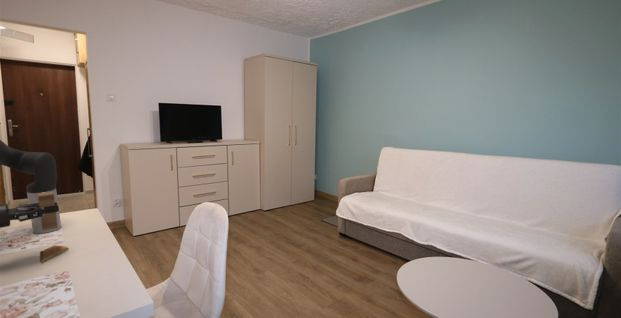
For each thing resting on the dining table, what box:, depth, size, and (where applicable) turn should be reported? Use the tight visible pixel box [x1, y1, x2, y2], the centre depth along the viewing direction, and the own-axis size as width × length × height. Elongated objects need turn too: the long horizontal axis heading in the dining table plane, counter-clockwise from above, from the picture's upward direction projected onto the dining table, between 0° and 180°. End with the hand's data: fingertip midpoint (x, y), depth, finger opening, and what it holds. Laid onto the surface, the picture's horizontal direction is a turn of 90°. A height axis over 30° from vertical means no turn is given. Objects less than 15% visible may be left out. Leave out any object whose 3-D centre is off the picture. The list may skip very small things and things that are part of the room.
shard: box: [39, 245, 69, 264], centre depth 109 cm, size 11×8×2 cm
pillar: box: [38, 192, 58, 231], centre depth 107 cm, size 4×4×12 cm
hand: (57, 206), depth 109 cm, fingers closed on pillar, 4 cm apart
